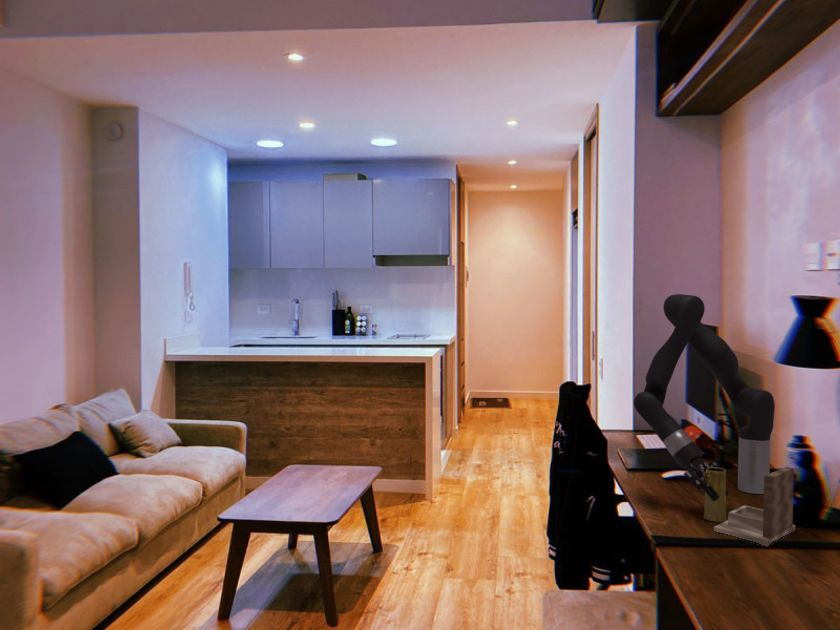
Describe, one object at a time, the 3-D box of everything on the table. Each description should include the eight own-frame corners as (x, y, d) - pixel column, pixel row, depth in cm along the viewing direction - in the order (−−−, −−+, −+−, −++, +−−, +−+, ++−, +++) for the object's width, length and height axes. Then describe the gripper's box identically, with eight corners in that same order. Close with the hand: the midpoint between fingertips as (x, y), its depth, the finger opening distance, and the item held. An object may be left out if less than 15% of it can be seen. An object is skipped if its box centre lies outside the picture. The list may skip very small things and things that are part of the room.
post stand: (743, 517, 202) (744, 457, 202) (795, 530, 192) (796, 467, 191) (713, 532, 190) (715, 468, 190) (767, 546, 180) (768, 478, 179)
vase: (725, 516, 203) (726, 467, 203) (727, 523, 197) (728, 473, 197) (702, 514, 205) (703, 465, 205) (704, 521, 199) (705, 471, 199)
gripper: (679, 444, 201) (719, 495, 193) (703, 437, 211) (742, 485, 202) (661, 459, 205) (700, 509, 197) (686, 452, 215) (724, 499, 207)
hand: (721, 497), depth 200 cm, fingers closed on vase, 5 cm apart
